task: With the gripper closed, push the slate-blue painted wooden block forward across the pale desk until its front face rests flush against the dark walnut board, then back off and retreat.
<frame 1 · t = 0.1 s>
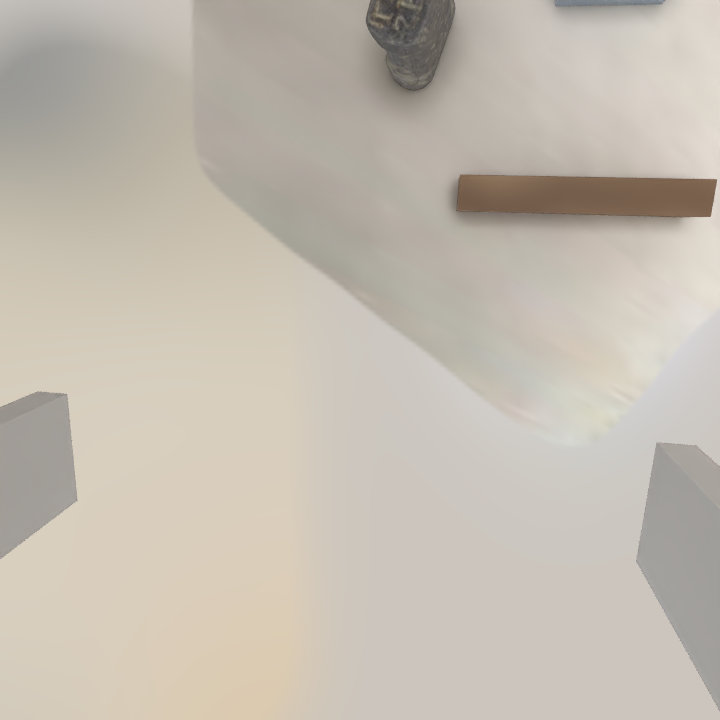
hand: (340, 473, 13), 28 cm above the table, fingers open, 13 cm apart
stone: (419, 45, 36), on the table
board: (568, 197, 36), on the table
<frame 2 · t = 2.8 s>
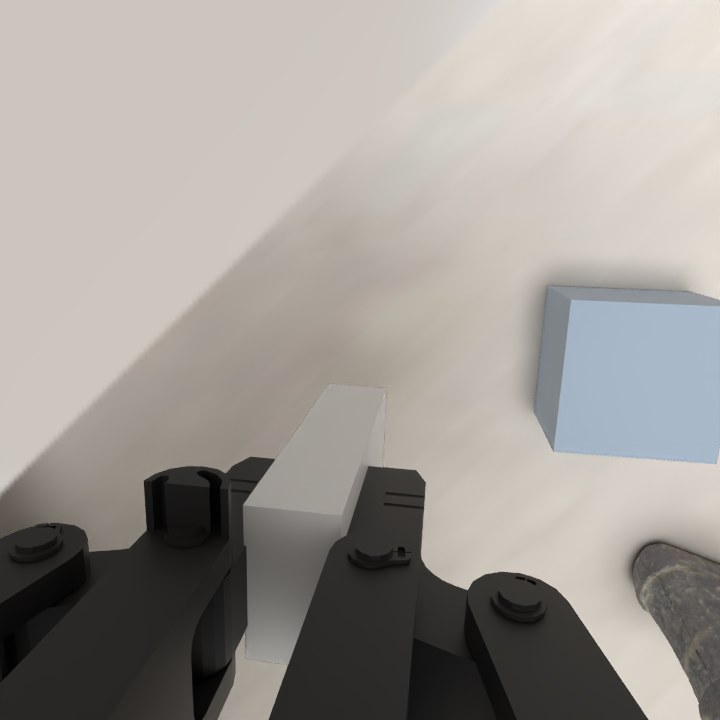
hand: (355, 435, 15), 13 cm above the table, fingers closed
stone: (681, 575, 28), on the table
block: (607, 353, 26), on the table
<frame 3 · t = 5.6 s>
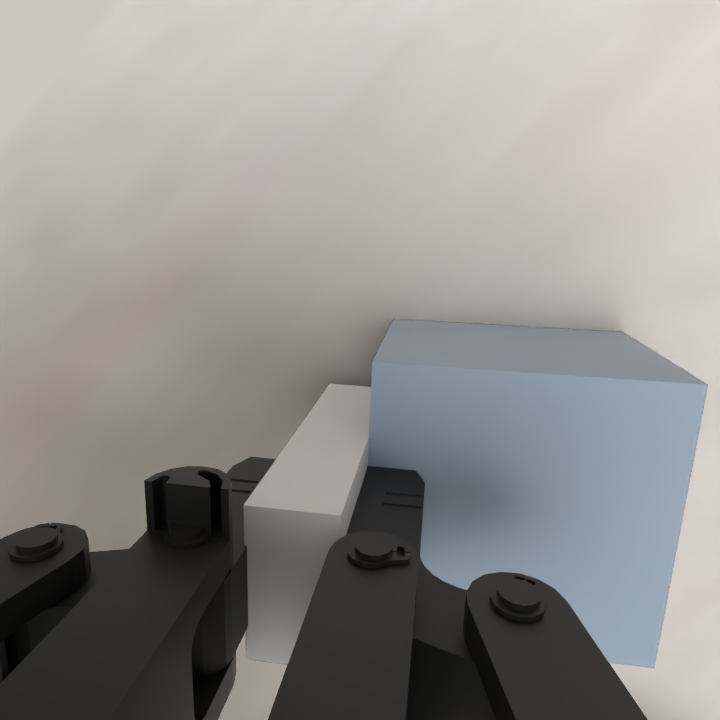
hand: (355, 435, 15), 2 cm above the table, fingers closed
block: (495, 429, 16), on the table, touching gripper
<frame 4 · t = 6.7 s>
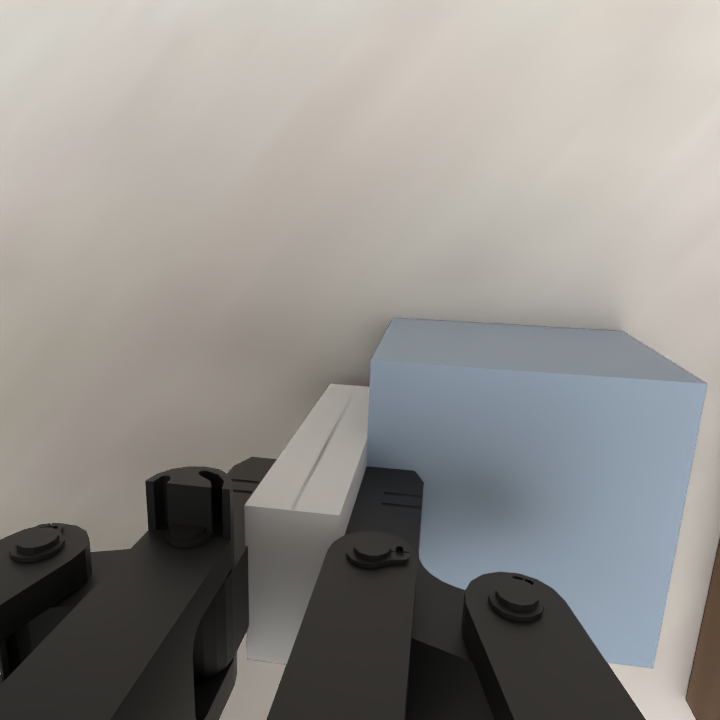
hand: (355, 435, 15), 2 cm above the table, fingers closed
block: (494, 429, 16), on the table, touching gripper
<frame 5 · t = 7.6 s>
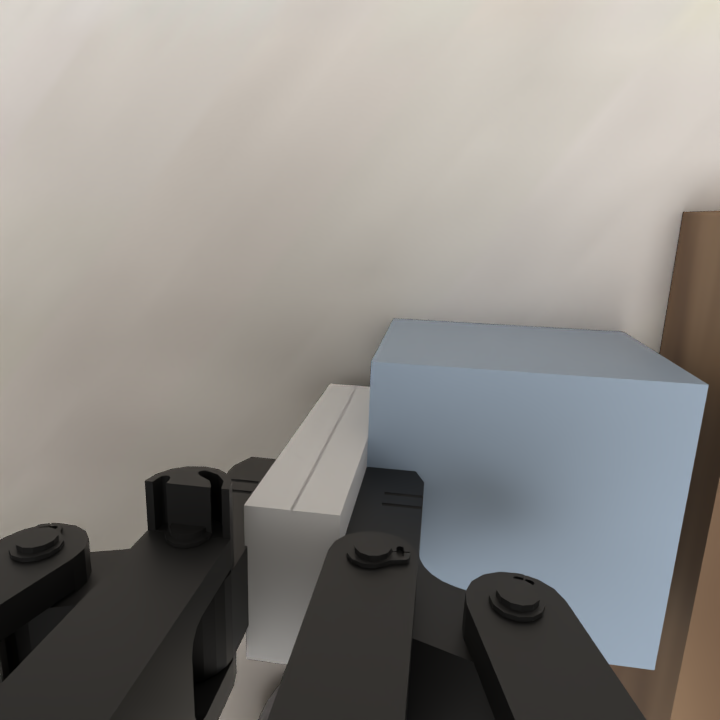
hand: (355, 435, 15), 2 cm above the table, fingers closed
board: (678, 479, 16), on the table
block: (495, 430, 16), on the table, touching gripper
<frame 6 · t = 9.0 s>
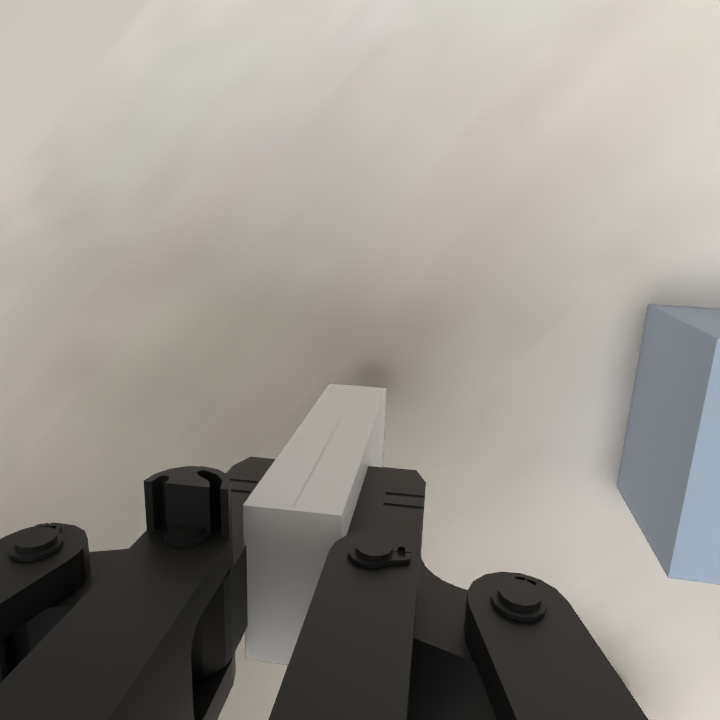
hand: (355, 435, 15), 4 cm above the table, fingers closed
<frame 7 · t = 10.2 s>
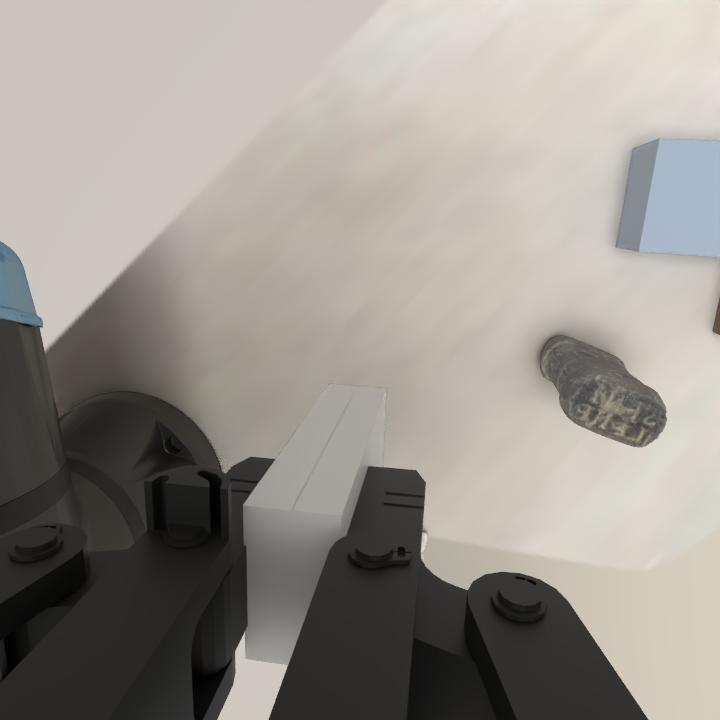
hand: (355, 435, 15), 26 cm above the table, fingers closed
stone: (577, 363, 39), on the table
block: (673, 202, 36), on the table
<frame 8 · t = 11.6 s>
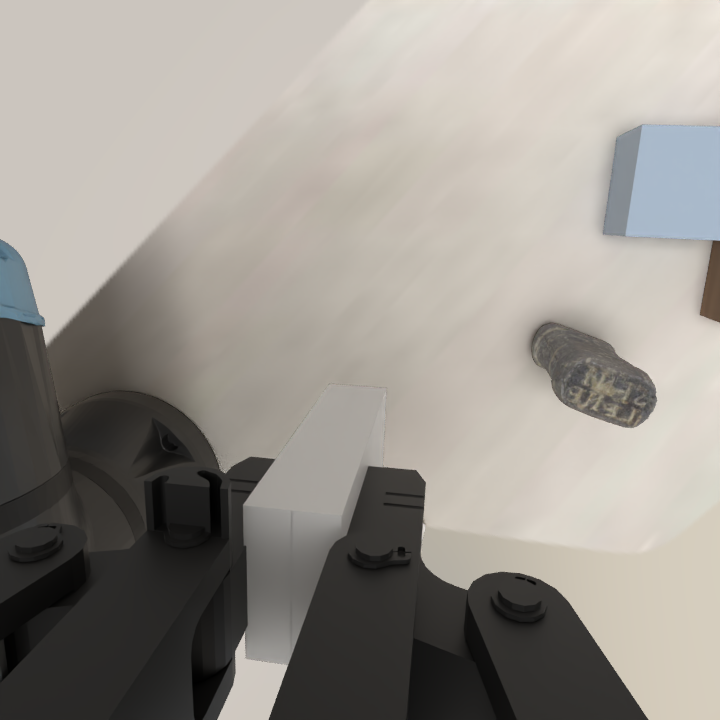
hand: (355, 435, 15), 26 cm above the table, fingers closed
stone: (568, 350, 40), on the table
block: (658, 188, 36), on the table
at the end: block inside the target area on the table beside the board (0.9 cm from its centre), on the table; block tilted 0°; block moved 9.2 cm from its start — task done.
